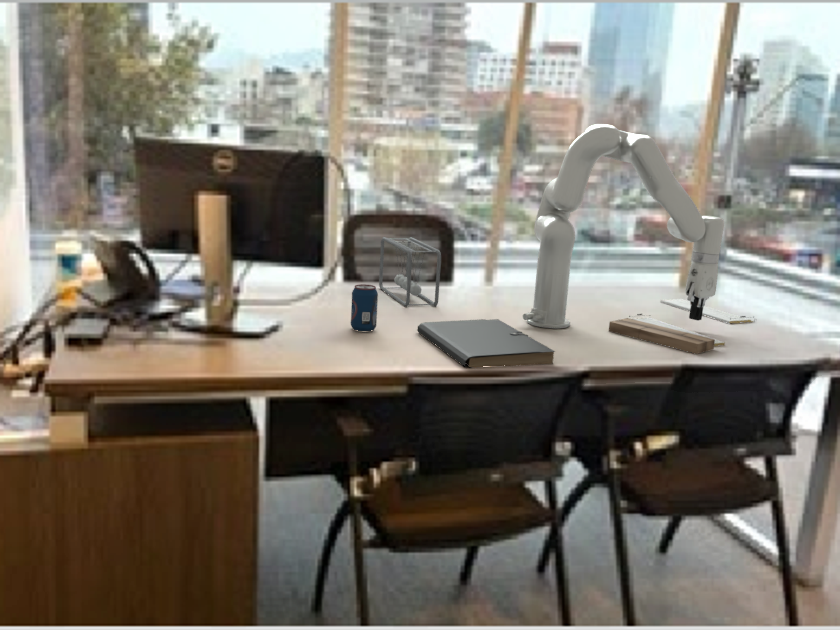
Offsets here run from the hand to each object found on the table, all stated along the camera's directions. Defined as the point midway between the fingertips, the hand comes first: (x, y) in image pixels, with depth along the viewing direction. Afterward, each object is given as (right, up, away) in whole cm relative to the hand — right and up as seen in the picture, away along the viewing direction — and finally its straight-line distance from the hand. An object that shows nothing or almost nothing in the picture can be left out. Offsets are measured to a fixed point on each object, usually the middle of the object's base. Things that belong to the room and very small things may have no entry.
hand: (695, 319), depth 253 cm
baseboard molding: (+12, +2, +27) cm, 30 cm away
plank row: (-15, -6, -14) cm, 21 cm away
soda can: (-97, -3, -22) cm, 100 cm away
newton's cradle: (-86, +7, +22) cm, 89 cm away
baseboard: (-8, -5, -5) cm, 11 cm away
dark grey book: (-66, -8, -33) cm, 74 cm away
